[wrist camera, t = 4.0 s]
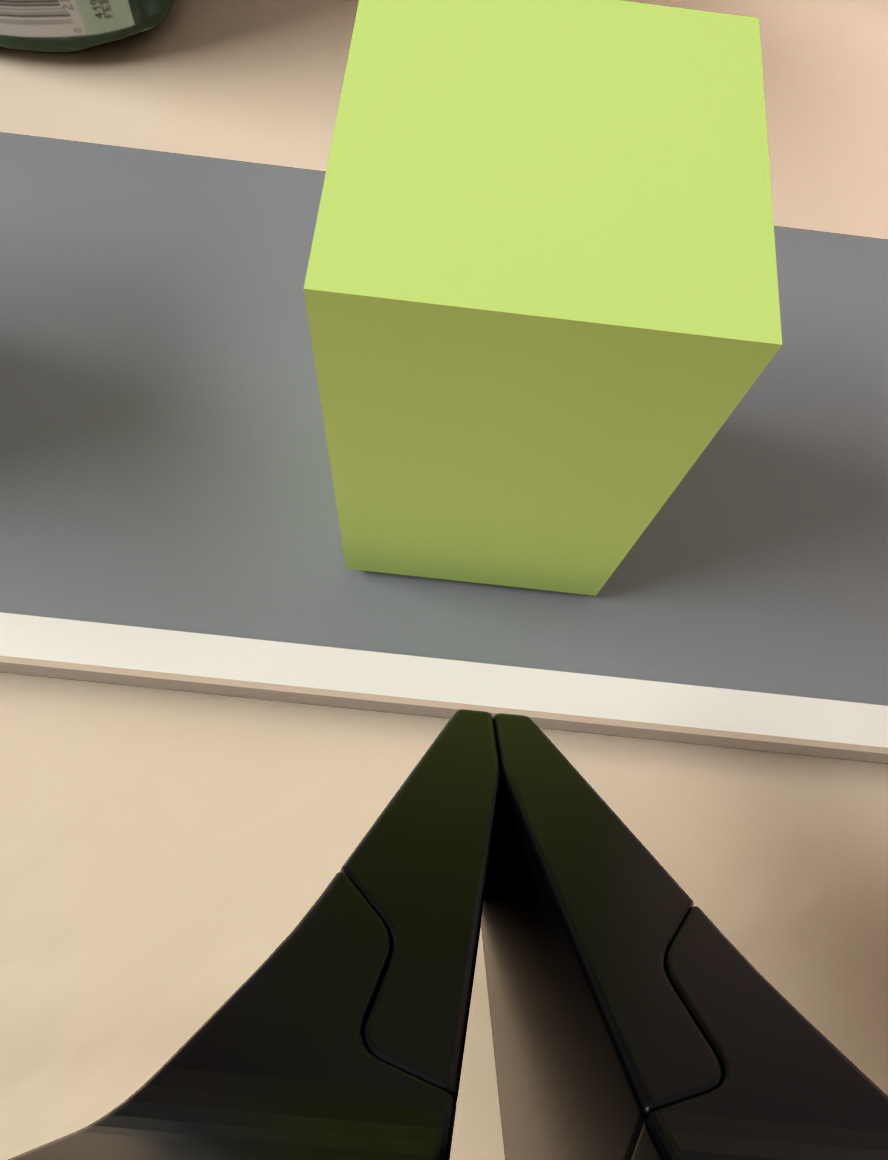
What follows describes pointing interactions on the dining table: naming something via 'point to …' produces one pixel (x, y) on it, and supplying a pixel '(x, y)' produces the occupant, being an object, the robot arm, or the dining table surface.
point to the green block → (536, 278)
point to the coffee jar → (75, 22)
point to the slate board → (308, 506)
